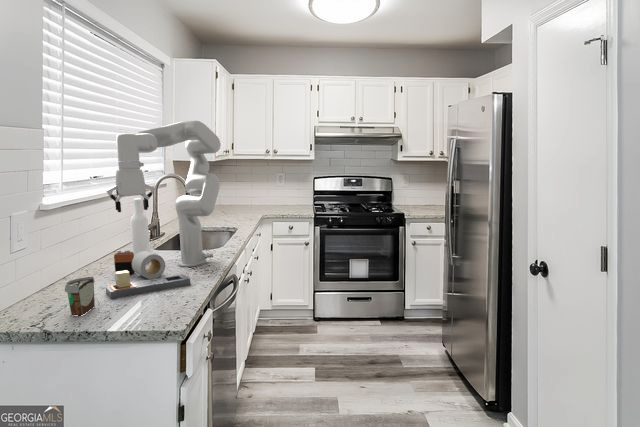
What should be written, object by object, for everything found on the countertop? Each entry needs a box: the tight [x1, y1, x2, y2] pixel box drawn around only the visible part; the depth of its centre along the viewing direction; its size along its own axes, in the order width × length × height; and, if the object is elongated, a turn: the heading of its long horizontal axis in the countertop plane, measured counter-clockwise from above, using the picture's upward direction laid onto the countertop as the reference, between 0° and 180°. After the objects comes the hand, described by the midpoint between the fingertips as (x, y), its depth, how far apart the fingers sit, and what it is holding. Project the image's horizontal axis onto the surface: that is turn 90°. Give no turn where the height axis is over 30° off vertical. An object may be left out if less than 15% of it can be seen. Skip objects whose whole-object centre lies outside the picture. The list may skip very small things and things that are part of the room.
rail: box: [105, 273, 192, 300], centre depth 170 cm, size 28×9×3 cm, turn 124°
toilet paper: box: [132, 251, 166, 280], centre depth 189 cm, size 10×10×10 cm
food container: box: [64, 276, 96, 316], centre depth 145 cm, size 12×6×10 cm, turn 5°
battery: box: [113, 250, 136, 276], centre depth 194 cm, size 4×7×10 cm, turn 91°
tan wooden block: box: [114, 270, 131, 289], centre depth 165 cm, size 4×4×8 cm
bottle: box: [129, 198, 151, 263], centre depth 218 cm, size 8×8×30 cm
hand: (132, 210), depth 177 cm, fingers open, 9 cm apart
